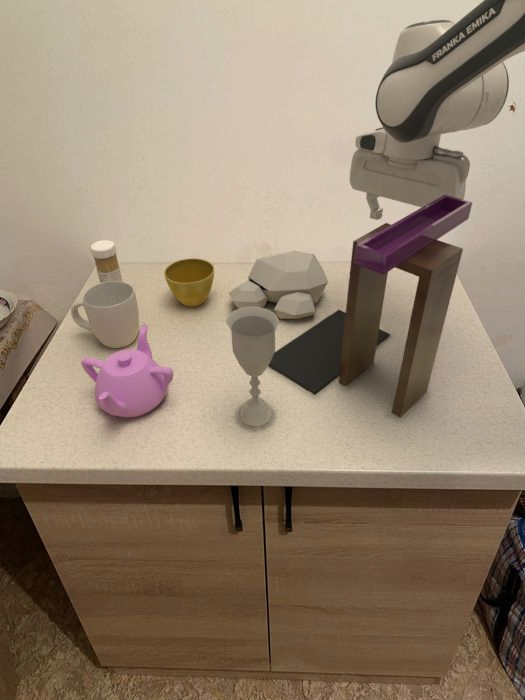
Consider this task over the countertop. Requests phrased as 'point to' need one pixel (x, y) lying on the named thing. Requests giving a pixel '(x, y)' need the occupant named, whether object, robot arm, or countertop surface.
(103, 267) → the sprinkles bottle
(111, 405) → the teapot
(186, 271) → the mustard yellow bowl
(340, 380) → the walnut stand
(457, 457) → the countertop surface
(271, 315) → the chalice
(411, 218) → the plum dish
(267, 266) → the rock
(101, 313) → the mug
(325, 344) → the charcoal mat
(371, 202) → the robot arm
